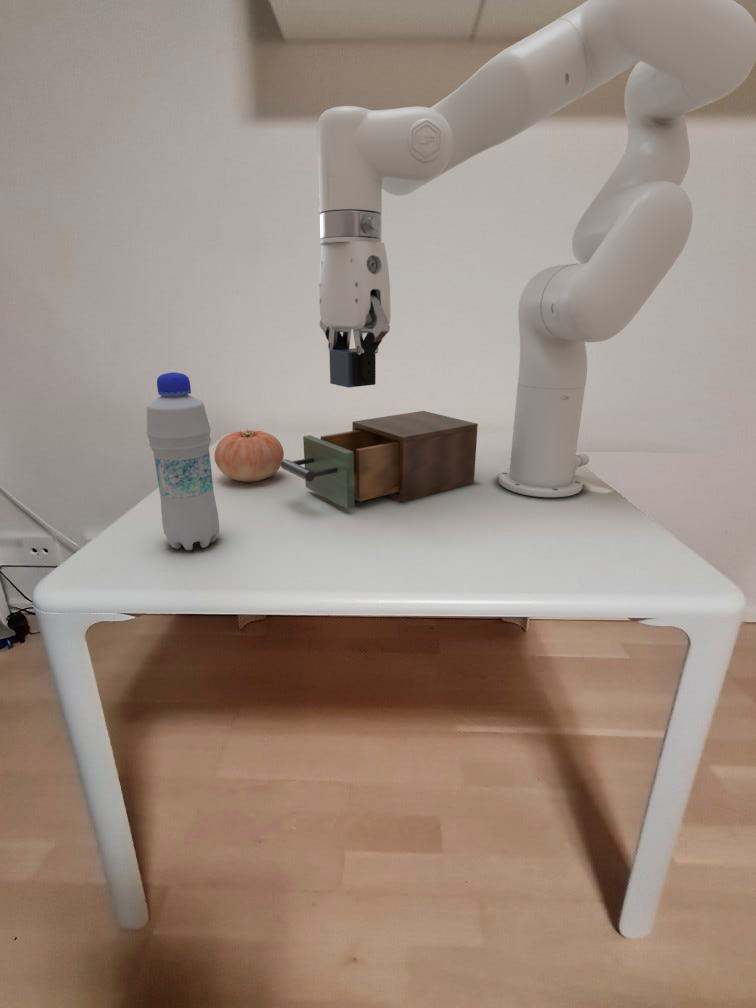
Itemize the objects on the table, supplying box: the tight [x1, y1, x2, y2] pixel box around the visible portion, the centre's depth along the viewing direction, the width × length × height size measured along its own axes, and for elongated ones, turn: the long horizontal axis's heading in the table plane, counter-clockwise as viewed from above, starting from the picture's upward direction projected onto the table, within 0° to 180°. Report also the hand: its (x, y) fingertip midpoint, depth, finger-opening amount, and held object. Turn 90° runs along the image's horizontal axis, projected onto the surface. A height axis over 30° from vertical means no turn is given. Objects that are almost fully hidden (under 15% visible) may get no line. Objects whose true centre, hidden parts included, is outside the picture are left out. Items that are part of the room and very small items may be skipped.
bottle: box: [146, 371, 220, 551], centre depth 62 cm, size 7×7×20 cm
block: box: [328, 348, 377, 388], centre depth 72 cm, size 4×4×4 cm
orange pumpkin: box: [213, 429, 285, 483], centre depth 87 cm, size 11×11×8 cm
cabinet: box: [351, 410, 479, 503], centre depth 85 cm, size 15×13×10 cm
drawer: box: [280, 429, 400, 510], centre depth 78 cm, size 18×11×8 cm, turn 127°
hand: (353, 381), depth 73 cm, fingers closed on block, 4 cm apart
